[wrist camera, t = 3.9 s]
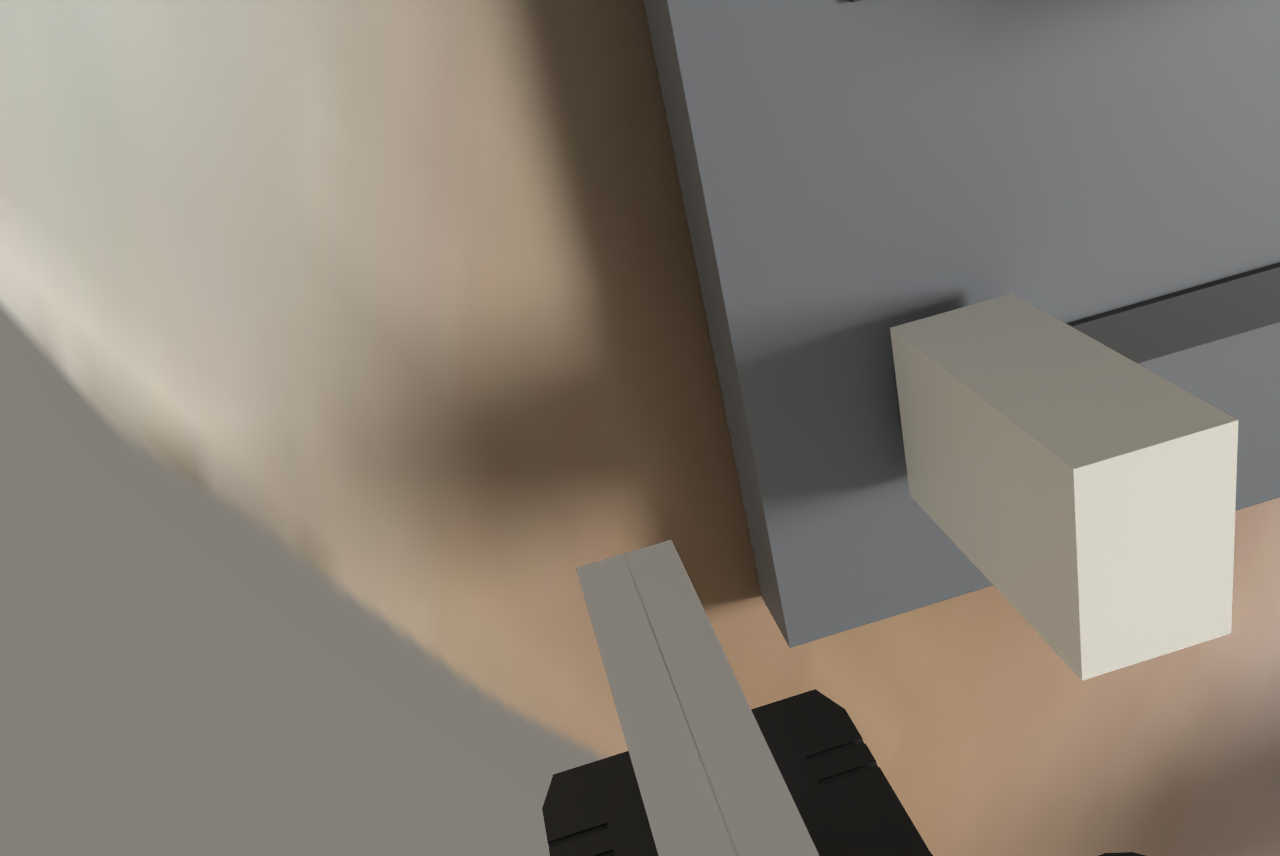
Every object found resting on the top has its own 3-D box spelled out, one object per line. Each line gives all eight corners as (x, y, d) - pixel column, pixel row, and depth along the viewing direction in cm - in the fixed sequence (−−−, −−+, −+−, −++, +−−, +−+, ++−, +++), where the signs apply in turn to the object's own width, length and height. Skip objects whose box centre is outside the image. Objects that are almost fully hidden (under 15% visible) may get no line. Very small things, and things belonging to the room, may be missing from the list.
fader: (889, 328, 20) (1073, 469, 14) (1012, 293, 20) (1239, 419, 14) (909, 495, 21) (1081, 680, 16) (1022, 462, 21) (1230, 633, 16)
